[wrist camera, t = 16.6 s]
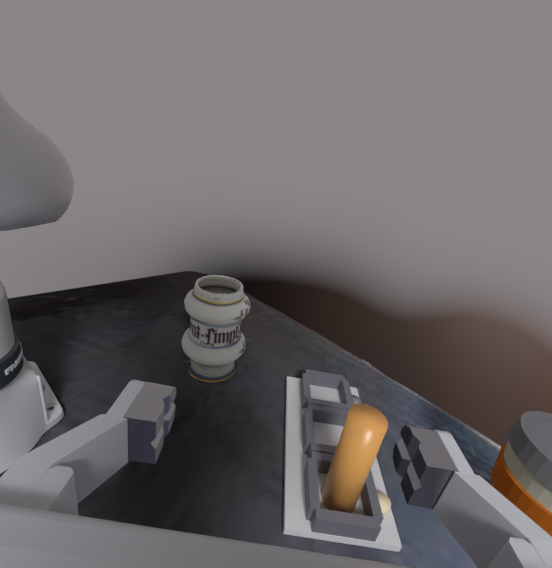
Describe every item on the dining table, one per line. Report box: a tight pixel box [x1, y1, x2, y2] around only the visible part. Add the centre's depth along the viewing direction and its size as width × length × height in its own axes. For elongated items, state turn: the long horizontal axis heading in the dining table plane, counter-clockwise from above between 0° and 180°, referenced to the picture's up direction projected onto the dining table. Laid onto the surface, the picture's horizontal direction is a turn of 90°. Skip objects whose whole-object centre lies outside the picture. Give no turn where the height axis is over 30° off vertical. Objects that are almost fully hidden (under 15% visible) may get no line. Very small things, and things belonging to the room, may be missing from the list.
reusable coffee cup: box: [491, 411, 552, 537], centre depth 39 cm, size 13×13×15 cm
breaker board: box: [283, 369, 402, 552], centre depth 48 cm, size 27×14×4 cm, turn 177°
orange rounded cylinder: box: [321, 403, 388, 513], centre depth 38 cm, size 4×4×14 cm
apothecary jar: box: [182, 275, 250, 382], centre depth 58 cm, size 12×12×18 cm
